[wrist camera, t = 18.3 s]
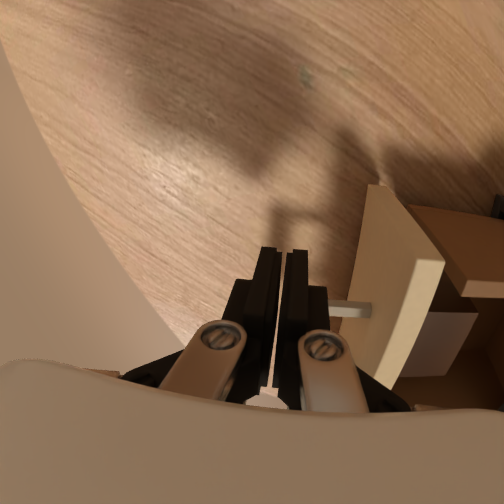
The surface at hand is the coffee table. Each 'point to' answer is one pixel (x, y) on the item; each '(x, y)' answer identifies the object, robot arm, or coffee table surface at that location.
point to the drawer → (425, 299)
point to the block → (441, 332)
